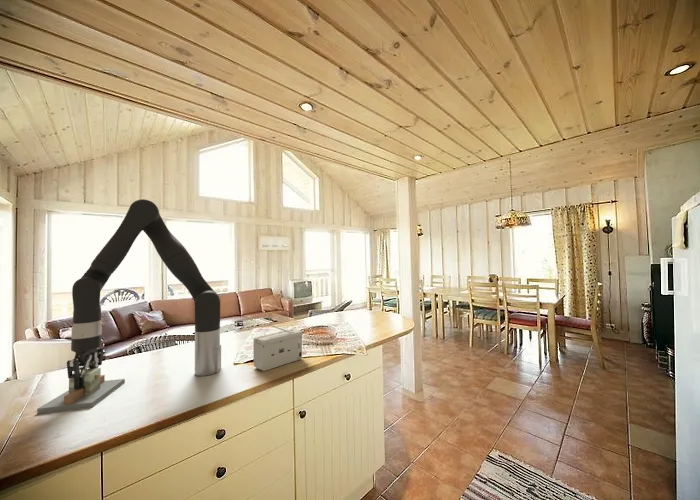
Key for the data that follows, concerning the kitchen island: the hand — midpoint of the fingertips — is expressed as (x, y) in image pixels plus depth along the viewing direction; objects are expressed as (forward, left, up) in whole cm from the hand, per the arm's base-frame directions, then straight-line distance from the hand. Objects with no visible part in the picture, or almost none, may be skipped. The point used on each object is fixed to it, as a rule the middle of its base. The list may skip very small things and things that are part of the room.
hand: (85, 384), depth 93 cm
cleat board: (0, 0, -4) cm, 4 cm away
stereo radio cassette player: (-64, -13, -4) cm, 65 cm away
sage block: (0, 0, -3) cm, 3 cm away
